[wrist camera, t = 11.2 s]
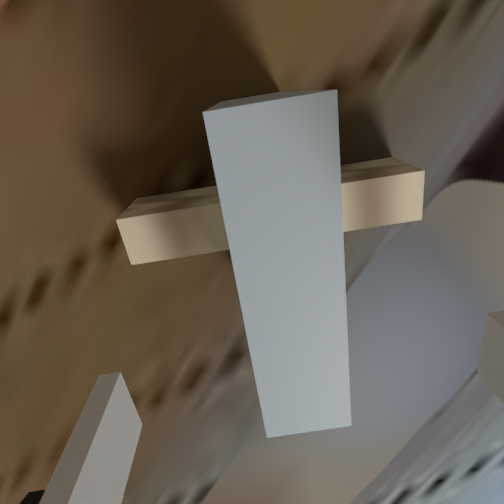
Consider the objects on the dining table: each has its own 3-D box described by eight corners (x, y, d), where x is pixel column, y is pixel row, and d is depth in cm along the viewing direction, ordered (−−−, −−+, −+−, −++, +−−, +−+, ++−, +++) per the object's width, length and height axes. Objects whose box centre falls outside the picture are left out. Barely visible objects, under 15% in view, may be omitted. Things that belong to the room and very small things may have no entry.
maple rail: (148, 237, 34) (131, 265, 28) (136, 198, 32) (115, 219, 27) (391, 198, 33) (421, 219, 28) (392, 157, 32) (424, 170, 26)
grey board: (299, 276, 36) (351, 425, 20) (253, 283, 37) (266, 437, 20) (279, 91, 29) (337, 89, 13) (221, 101, 29) (202, 112, 13)
